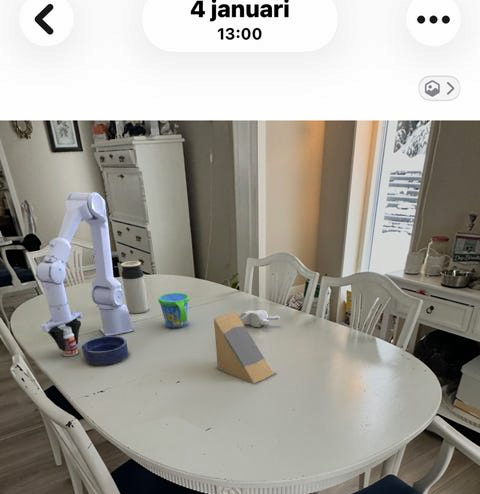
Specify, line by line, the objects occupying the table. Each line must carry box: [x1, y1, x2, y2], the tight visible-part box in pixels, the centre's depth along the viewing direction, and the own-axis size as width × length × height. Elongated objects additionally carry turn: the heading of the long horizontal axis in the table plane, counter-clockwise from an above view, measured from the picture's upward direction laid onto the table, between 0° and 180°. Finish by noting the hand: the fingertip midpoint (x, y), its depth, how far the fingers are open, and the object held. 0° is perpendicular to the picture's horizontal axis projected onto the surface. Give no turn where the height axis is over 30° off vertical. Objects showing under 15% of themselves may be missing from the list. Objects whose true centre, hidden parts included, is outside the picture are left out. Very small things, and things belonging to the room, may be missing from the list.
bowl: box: [81, 335, 129, 366], centre depth 145 cm, size 13×13×4 cm
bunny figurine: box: [238, 309, 281, 328], centre depth 164 cm, size 10×5×15 cm
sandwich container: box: [213, 311, 275, 384], centre depth 130 cm, size 9×15×15 cm, turn 44°
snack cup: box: [158, 292, 190, 329], centre depth 166 cm, size 16×10×10 cm
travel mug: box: [120, 260, 149, 314], centre depth 180 cm, size 8×8×18 cm
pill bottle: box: [59, 325, 79, 357], centre depth 147 cm, size 5×5×8 cm
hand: (69, 346), depth 148 cm, fingers closed on pill bottle, 5 cm apart
